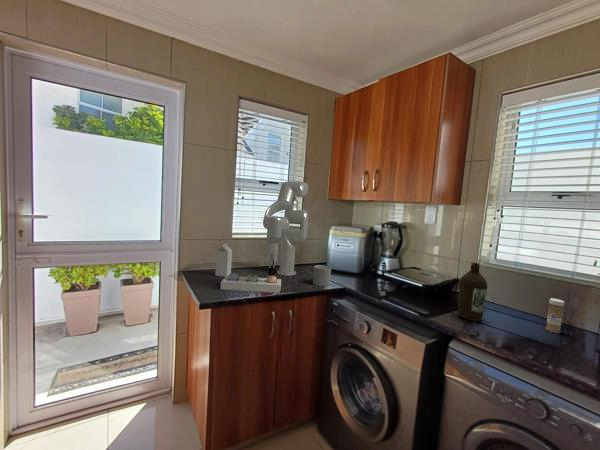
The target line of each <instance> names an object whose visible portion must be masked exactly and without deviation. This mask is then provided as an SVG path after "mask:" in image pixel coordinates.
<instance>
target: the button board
mask: <svg viewBox="0 0 600 450" xmlns="http://www.w3.org/2000/svg"><path fill="white" fill-rule="evenodd" d="M281 287H282V279H281V278H276V283H267V277H257V282H248V276H239V277H238V281H230V280H229V276H226V277H225V276H224V278H223V279H222V280H221V282H220V290H225V291H227V290H228V291H239V292H240V291H242V292H255V293H256V292H257V293H270V294H271V293H272V292H273V294H280V292H281Z"/></svg>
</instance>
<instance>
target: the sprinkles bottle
mask: <svg viewBox="0 0 600 450" xmlns="http://www.w3.org/2000/svg"><path fill="white" fill-rule="evenodd" d="M548 303H549V306H548V313H547V316H546V317H547V318H546V327H545V330H546V331H548V332H550V333H554V334H561V326H562V322H563V321H562V320H563V311H564V306H565V301H564V300H562V299H559V298H554V297H551V298H549V302H548Z"/></svg>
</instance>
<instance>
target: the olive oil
mask: <svg viewBox="0 0 600 450" xmlns="http://www.w3.org/2000/svg"><path fill="white" fill-rule="evenodd" d="M480 264H481V263H479V262H476V261H475V262H474V261H473V262H471V264H470V270H469V271H467V272H466V273H465V274H463V275H462V276H461V278H460V280H459V291H458V306H457V307H458V308H457V316H458V315H459V316H460V318H461V317H463V318H465V319H464V320H466V319H468V320H467V321H470V320H472V322H482V321H481V320H483V316H484V312H485V305H486V304H485V303H486V298H487V292H488V281H487V280H486V279H485V277H484V276H483V275H482V273H480V269H481V267H480ZM459 316H458V317H459ZM463 318H462V319H463Z"/></svg>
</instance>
